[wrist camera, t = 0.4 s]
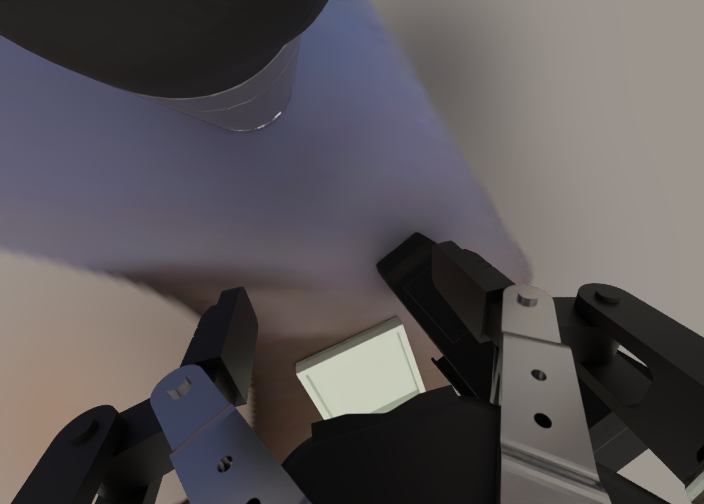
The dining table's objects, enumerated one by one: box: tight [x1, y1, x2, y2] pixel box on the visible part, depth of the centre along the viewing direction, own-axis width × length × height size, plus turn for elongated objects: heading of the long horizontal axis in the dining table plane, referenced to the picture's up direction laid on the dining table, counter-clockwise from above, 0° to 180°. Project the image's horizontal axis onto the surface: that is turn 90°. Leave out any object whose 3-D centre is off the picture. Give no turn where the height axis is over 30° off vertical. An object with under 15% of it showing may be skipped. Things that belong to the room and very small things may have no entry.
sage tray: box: [296, 316, 426, 420], centre depth 37 cm, size 14×14×2 cm
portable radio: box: [377, 233, 653, 472], centre depth 22 cm, size 8×6×25 cm
